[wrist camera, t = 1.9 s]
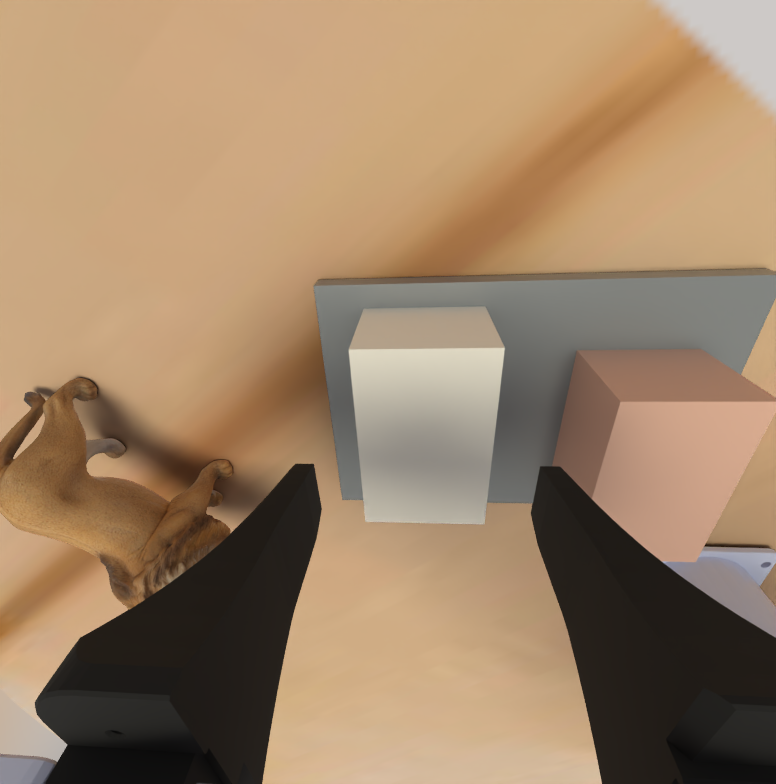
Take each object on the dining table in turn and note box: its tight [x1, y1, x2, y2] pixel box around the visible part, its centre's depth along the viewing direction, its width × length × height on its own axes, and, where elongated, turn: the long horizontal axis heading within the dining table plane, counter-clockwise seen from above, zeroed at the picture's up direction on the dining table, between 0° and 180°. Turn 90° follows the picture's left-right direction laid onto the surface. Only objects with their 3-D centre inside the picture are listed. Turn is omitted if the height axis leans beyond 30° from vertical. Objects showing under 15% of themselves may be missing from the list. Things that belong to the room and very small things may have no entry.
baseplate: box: [314, 268, 776, 503], centre depth 19 cm, size 12×18×1 cm, turn 92°
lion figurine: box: [0, 378, 233, 610], centre depth 19 cm, size 15×5×9 cm, turn 59°
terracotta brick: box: [552, 349, 776, 562], centre depth 17 cm, size 8×5×4 cm, turn 2°
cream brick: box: [349, 306, 505, 524], centre depth 16 cm, size 8×5×4 cm, turn 2°
